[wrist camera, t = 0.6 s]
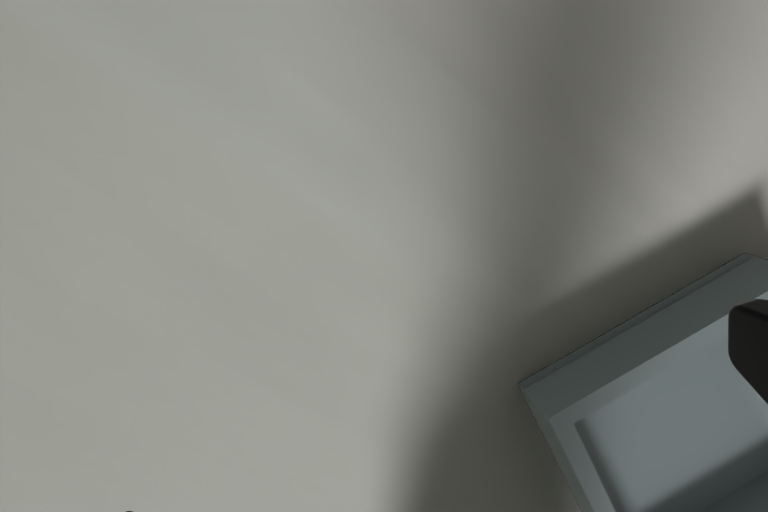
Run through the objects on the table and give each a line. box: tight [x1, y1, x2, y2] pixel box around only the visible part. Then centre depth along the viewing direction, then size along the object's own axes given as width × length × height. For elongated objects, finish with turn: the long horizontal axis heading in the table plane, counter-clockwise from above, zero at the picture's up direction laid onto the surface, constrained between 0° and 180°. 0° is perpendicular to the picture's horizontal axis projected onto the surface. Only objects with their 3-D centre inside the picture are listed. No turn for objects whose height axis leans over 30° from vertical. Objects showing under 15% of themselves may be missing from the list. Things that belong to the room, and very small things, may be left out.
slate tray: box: [518, 253, 768, 512], centre depth 27 cm, size 12×12×3 cm
